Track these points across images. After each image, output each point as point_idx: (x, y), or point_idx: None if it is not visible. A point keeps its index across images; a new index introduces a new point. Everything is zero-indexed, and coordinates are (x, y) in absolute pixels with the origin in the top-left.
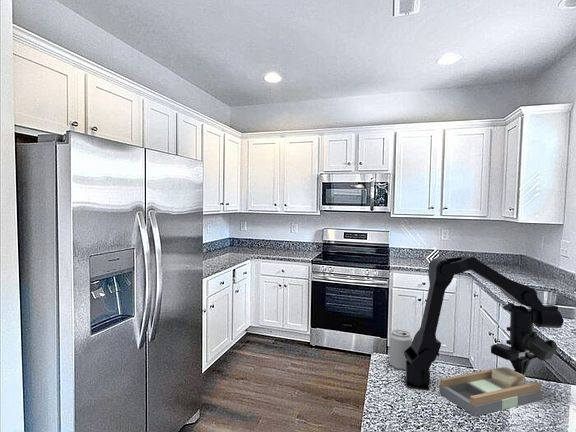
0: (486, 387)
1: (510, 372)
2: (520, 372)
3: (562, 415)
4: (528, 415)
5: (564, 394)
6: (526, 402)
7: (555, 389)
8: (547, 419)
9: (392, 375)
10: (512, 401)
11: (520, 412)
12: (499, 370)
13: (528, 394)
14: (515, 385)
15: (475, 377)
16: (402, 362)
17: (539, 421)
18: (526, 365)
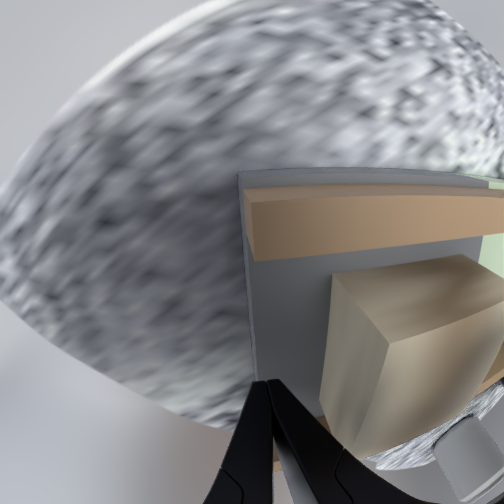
0: None
1: (431, 393)
2: (310, 416)
3: (299, 4)
4: (466, 98)
5: (14, 212)
6: (399, 169)
7: (20, 271)
8: (418, 33)
9: (500, 387)
10: (494, 180)
11: (476, 130)
12: (450, 408)
13: (417, 175)
14: (451, 272)
15: None
16: (482, 426)
17: (458, 51)
18: (252, 492)
